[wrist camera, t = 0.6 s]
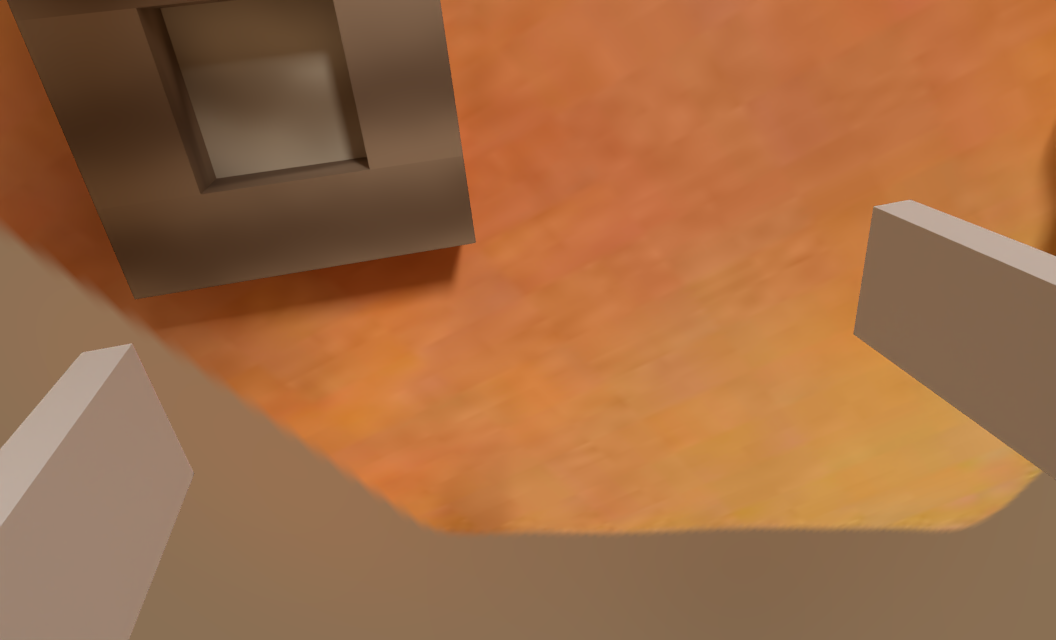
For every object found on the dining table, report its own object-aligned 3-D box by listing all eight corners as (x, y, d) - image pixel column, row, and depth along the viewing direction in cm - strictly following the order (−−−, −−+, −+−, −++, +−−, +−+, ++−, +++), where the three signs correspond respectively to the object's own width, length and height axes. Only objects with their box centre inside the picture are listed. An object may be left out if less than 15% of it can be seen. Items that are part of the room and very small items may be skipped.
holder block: (16, -98, 25) (-43, -116, 22) (413, -132, 28) (417, -153, 24) (161, 268, 33) (135, 299, 29) (466, 219, 35) (475, 242, 31)
